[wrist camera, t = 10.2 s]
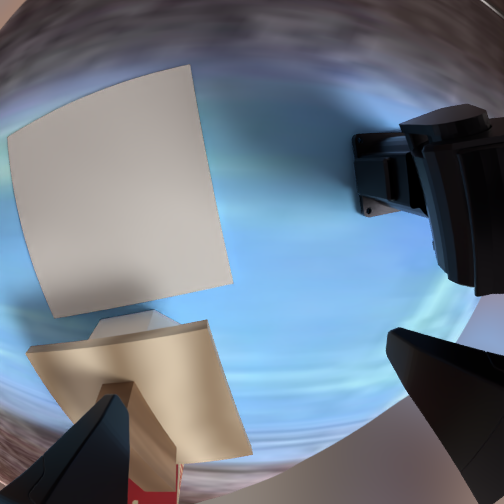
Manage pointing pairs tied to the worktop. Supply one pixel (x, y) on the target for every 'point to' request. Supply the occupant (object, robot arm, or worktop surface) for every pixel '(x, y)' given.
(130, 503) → the milk carton
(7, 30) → the worktop surface
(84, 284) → the tray
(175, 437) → the lid
